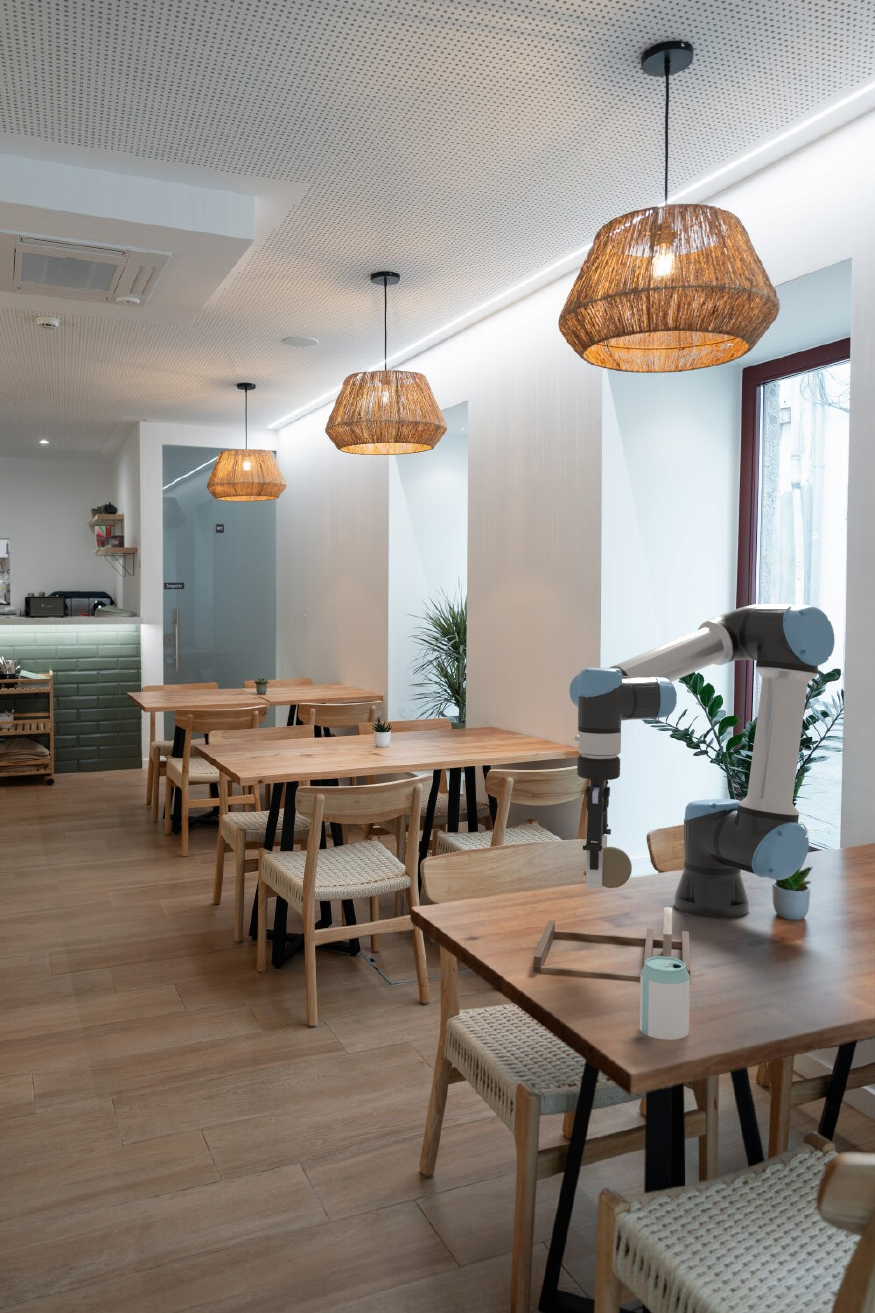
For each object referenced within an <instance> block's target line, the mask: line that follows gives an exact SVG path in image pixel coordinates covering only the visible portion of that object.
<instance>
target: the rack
mask: <svg viewBox="0 0 875 1313" xmlns="http://www.w3.org/2000/svg"><path fill="white" fill-rule="evenodd" d="M555 928H556V921H555V920H551V919H550V920H549V919H548V921H547V923H546V926H545V928H544V931H543V933H542V936H541V938H540V940H539V944H538V945H537V948H536V951H535V953H534V957H533V973H543V974H556V975H568V976H580V977H591V978H593V977H594V978H604V979H617V980H629V981H639V982H640V976H641V974H632V973H626V972H625V973H622V972H610V971H604V970H603V971H600V970H591V969H578V968H569V967H559V966H550V965H549V966H547V965H545V963H546V960H547V958H548V956H549V953H564V952H581V951H595V950H596V951H598V950H612V949H615V950H616V949H630V948H631V949H632V948H633V949H634V948H644V956H643V967H644V966H645V961H646V960H647V959H648V958H651V957H653V950H654V947H662V956H664V957H672V949H673V948H677V949H681V959H682V960H681V961H683V962H684V963H685V965H686V967H685V968H686V970H687V972H688V973H689V975H690V976H691V955H690V954H691V953H690V952H691V950H690V931H686V930H682V931H681V934H682V935H681V940H679V939H678V940H677V939H672V938H673V935H672V934H673V907H668V906H664V907H663V931H662V932H663V935H662V938H656V937H654V928H650V927H646V933H645V935H646V936H645V937H643V936H633V935H632V936H631V935H619V934H608V933H607V934H606V933H596V932H585V931H584V932H583V931H570V930H561V929H560V930H559V929H558V930H557V929H555Z"/></svg>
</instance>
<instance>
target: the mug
mask: <svg viewBox="0 0 875 1313" xmlns="http://www.w3.org/2000/svg"><path fill="white" fill-rule="evenodd" d="M602 850H603V867H602V887H603V888H604V887H605V888H607V889H616V888H619V887H622V886H623V885H625V884H626V883H627V882H628V881H629V879H630V877H631V875H632V869H633V866H632V865H633V864H632V861H631V858H630V857H629V855H628V854H627V853H626V852H625V851H624V850H622V849H620V848H618V847H614V846H607V847H605V848H602ZM583 875H584V876H585V877H586V869H584V871H583Z"/></svg>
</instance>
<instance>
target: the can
mask: <svg viewBox="0 0 875 1313" xmlns="http://www.w3.org/2000/svg"><path fill="white" fill-rule="evenodd" d="M685 967H686V965H685V963H684V962H683V961H682V960H681V959H679V958H675V957H672V956H671V957H664V956H663V955H662V956H660V955H659V956H652V957H651V958H648V959H647V960H646V961H645V966H644V965H643V967H642V969H641V970H640V975H641V976H640V981H639V982H640V984H639V985H640V987H639V990H640V993H639V1030H640V1032H641V1033H642V1034H644V1035H646V1036H648V1037H651V1038H654V1039H659V1040H670V1041H671V1040H673V1041H674V1040H680V1039H683V1038H686V1037H687V1036H688V1035H689V1034H690V1001H691V1000H690V996H691V995H690V992H691V974H690V975H689V973H688V972H687V970H686V968H685Z"/></svg>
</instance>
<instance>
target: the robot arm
mask: <svg viewBox="0 0 875 1313" xmlns="http://www.w3.org/2000/svg"><path fill="white" fill-rule="evenodd" d="M834 649H835V633H834V628H833V624H832V622H831V621H830V620H829V619H828V616H827V614H825V612H824V611H823V610H821V609H820V608H818V607H816V606H813V605H806V604H799V603H798V604H797V603H791V604H790V603H789V604H762V603H761V604H750V605H747V606H742V607H739V608H736V609H734V610H731V611H728V612H725V613H724V614H720V615H718V616H716V617H713V618H711V619H708V620H707V621H704V622H703V623H701V624H700V625H699V627H698V630H696V631H693V632H690V633H689V634H686V635H684V636H681V637H679V638H676V639H674V640H672V641H669V642H667V643H665V644H662V645H660V646H658V647H655V648H653V649H651V650H648V651H645V652H644V653H640V654H638V655H636V656H633V657H631V658H629V659H626V660H624V661H622V662H620V663H617V664H614V665H612V666H610V667H586V668H583V669H581V671H580V672H579V673H578V674H576V675H575V676H574V677H573V679H572V680H571V682H570V685H569V692H568V693H569V697H570V700H571V701H572V704H574V705H575V707H577V711H578V712H577V721H578V722H577V730H578V731H577V734H578V735H577V734H576V735H575V736H574V738H573V739H574V741H576V742H577V752H578V753H579V755H578V756H577V758H576V759H577V760H576V761H577V762H576V770H577V771H576V774H577V776H578V777H579V778H581V779H584V780H585V779H586V780H587V779H588V780H590V785H587V788H585V789H586V791H585V792H586V793H585V797H586V812H587V821H586V822H587V823H586V841H585V842H586V844H585V845H582V851H586V861H585V862H586V863H585V864H586V866H585V867H586V869H585V870H586V876H585V877H586V878H585V879H586V880H585V887H586V888H594V889H603V886H602V867H603V850H602V848H605V847H608V835H609V836H610V835H611V834H612V829H611V828H609V824H608V808H609V805H610V799H609V798H610V796H611V795H610V793H611V787H610V786H608V785H609V781H612V780H616V779H618V778H619V777H620V776H621V758H620V756H618V755H620V754H621V750H622V748H621V747H622V721H628V720H631V721H633V720H634V721H635V720H650V719H651V720H652V719H653V720H657V719H660V718H666V717H668V716H670V715H671V714H673V712H674V711H675V709H676V706H677V699H678V698H677V690H676V688H675V686H674V684H673V683H672V682H675V681H677V680H679V679H681V678H683V677H686V676H688V675H690V674H693V673H695V672H698V671H699V670H702V669H705V668H706V667H709V666H711V665H716V666H723V665H726V664H728V663H730V662H734V661H756V663H755V670H756V671H757V673H758V674H759V675H760V676H761V678H762V679H761V684H760V685H761V686H760V687H761V688H760V694H759V702H758V709H757V718H756V723H755V724H756V725H755V734H754V739H753V749H752V756H751V765H750V772H749V781H748V789H747V794H746V797H744V798H743V799H741V800H738V799H731V798H715V799H714V798H712V799H711V798H710V799H699V800H693V801H691V802H688V803H687V805H686V806H685V811H684V819H683V871H682V873H681V876H680V878H679V882H678V885H677V887H676V890H675V892H674V907H675V909H676V910H678V911H680V912H681V911H682V912H681V913H684V914H686V913H688V914H687V915H690V914H692V915H691V916H694V915H695V916H696V917H699V916H700V918H706V917H707V918H709V919H733V918H740V917H743V915H744V916H746V915H747V914H748V913H749V905H750V902H749V898H748V894H747V892H746V888H745V884H744V881H743V878H742V874H741V872H742V871H744V872H747V873H750V874H754V875H755V876H757V877H759V878H767V879H770V880H775V881H782V880H786V879H788V878H790V877H792V876H793V875H795V874H796V872H797V871H799V870H800V869H801V867H802V866H803V864H804V863H805V860H806V859H807V855H808V854H809V853H808V852H809V848H810V847H809V846H810V843H809V842H810V841H809V836H808V835H807V831H806V829H805V828H804V827H803V826H802V825H801V824H799V818H800V811H799V810H798V808H796V806H795V805H794V803H793V802H794V801H793V800H794V792H795V787H796V786H795V784H796V777H797V768H798V761H799V754H800V745H801V739H802V737H801V736H802V732H803V730H802V729H803V721H804V712H805V707H806V698H807V692H808V691H807V690H808V685H809V684H808V683H809V682H811V681H812V680H813V679H815V678H816V677H818V669H819V666H821V665H823V664H825V663H826V662H828V661H829V657H831V656H832V654H833V652H834ZM745 914H746V915H745ZM695 916H694V917H695Z"/></svg>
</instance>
